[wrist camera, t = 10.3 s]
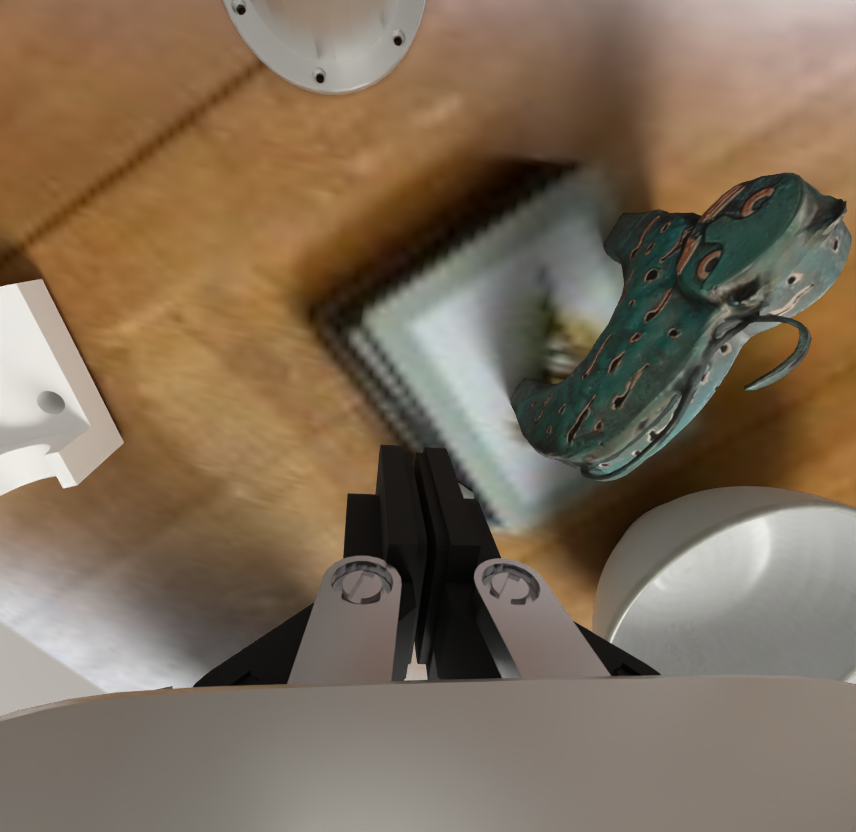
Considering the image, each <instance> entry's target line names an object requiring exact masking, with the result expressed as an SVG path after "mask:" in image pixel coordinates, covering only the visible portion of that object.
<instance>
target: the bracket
mask: <svg viewBox="0 0 856 832" xmlns="http://www.w3.org/2000/svg"><path fill="white" fill-rule="evenodd" d="M123 443H124V442H123V440H122V438H121V436H120V434H119V432H118V430H117V428H116V426H115V424H114V422H113V420H112V418H111V416H110V414H109V412H108V410H107V408H106V406H105V404H104V402H103V400H102V398H101V396H100V394H99V392H98V390H97V388H96V386H95V384H94V382H93V380H92V378H91V376H90V374H89V372H88V370H87V368H86V366H85V364H84V362H83V360H82V358H81V356H80V354H79V352H78V350H77V348H76V346H75V344H74V342H73V340H72V338H71V336H70V334H69V332H68V330H67V328H66V326H65V324H64V322H63V320H62V318H61V316H60V314H59V312H58V310H57V308H56V306H55V304H54V302H53V300H52V298H51V296H50V294H49V292H48V290H47V288H46V286H45V284H44V282H43V280H42V279H38V280H32V281H27V282H21V283H16V284H11V285H6V286H1V287H0V496H1V495H3V494H5V493H7V492H9V491H11V490H13V489H16V488H18V487H20V486H23V485H25V484H28V483H31V482H34V481H37V480H40V479H44V478H48V477H53V476H56V477H57V479H58V480H59V482H60V484H61V485H62V487H63V488H67V487H72V486H77V485H78V484H79V483H80V482H82V481H83V480H84V479H85V478H86V477H87V476H88V475H89V474H90V473H91V472H93V471H94V470H95V469H96V468H97V467H98V466H99V465H100V464H101V463H102V462H103V461H105V460H106V459H107V458H108V457H109V456H110V455H111V454H112V453H113V452H114V451H116V450H117V449H118V448H119V447H120V446H121V445H122V444H123Z"/></svg>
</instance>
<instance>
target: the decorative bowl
mask: <svg viewBox="0 0 856 832" xmlns="http://www.w3.org/2000/svg"><path fill="white" fill-rule="evenodd" d="M592 632H593V633H594V634H596V635H598V636H600V637H601V638H603V639H605V640H606V641H608V642H610V643H612V644H613V645H615V646H617V647H619V648H620V649H622V650H624V651H625V652H627V653H629V654H631V655H632V656H634V657H636V658H637V659H639V660H641V661H643V662H644V663H646V664H648V665H649V666H650V667H652V668H653V669H655V670H656V671H657V672H659V673H660V674H661V675H725V674H745V675H789V676H806V677H815V678H825V679H832V680H837V681H842V682H848V681H849V680H851V679H852V678H853V677H854V676H855V675H856V508H855V507H853V506H850V505H848V504H845V503H842V502H839V501H835V500H832V499H828V498H825V497H821V496H817V495H813V494H809V493H804V492H799V491H794V490H788V489H781V488H772V487H760V486H735V487H722V488H715V489H709V490H704V491H699V492H695V493H692V494H688V495H685V496H683V497H680V498H677V499H675V500H672V501H670V502H668V503H665V504H662V505H659V506H657V507H655V508H653V509H651V510H649V511H648V512H646V513H645V514H643V515H642V516H640V517H639V518H638V519H637V520H636V521H635V522H634V523H633V524H632V525H631V526H630V527H629V528H628V529H627V531H626V532H625V533H624V535H623V536H622V538H621V540H620V541H619V542H618V544H617V545H616V547H615V548H614V550H613V551H612V553H611V555H610V556H609V558H608V560H607V562H606V564H605V566H604V569H603V571H602V574H601V576H600V579H599V583H598V586H597V590H596V595H595V600H594V607H593V619H592Z"/></svg>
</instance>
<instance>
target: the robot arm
mask: <svg viewBox="0 0 856 832" xmlns="http://www.w3.org/2000/svg"><path fill="white" fill-rule="evenodd" d="M223 3H224V5H225V7H226V10H227V12H228V14H229V17H230V19H231V21H232V22H233V24H234V26H235V27H236V29H237V31H238V32H239V34H240V35H241V37H242V38H243V40H244V41H245V43H246V44H247V45H248V47H249V48H250V49H251V51H252V52H253V53H254V54H255V55H256V56H257V57H258V58H259V59H260V60H261V61H262V62H263V63H264V64H265V65H266V66H267V67H268V68H269V69H270V70H271V71H272V72H274V73H275V74H277V75H278V76H279V77H281V78H282V79H284V80H285V81H287V82H288V83H290V84H293V85H295V86H297V87H299V88H301V89H304V90H306V91H310V92H314V93H319V94H323V95H345V94H350V93H354V92H359V91H362V90H364V89H366V88H368V87H370V86H372V85H374V84H377V83H378V82H379V81H381V80H382V79H383V78H384V77H386V76H387V75H388V74H390V73H391V72H392V71H393V70H394V69H395V67H396V66H397V65H398V64H399V63H400V61H401V60H402V59H403V58H404V57H405V55H406V53H407V51H408V50H409V48H410V46H411V44H412V42H413V41H414V39H415V36H416V34H417V31H418V28H419V25H420V22H421V19H422V16H423V11H424V7H425V3H426V0H223ZM241 7H243V8H245V9H246V12H245V13H244V14H243V15H239V13H238V11H239V9H240V8H241ZM395 38H399V39H400V40H401V42H402V44H401V45H400V46H397V45H395V43H394V39H395ZM318 75H322V76H323V77H324V82H322V83H318V82H317V81H316V78H317V76H318ZM414 641H415V650H416V658H417V663H418V664H426V669H427V676H428V680H410V681H403V680H404V679H405V678H406V673H407V667H408V664H410V663H411V659H412V652H413V646H414ZM0 832H856V684H852V683H847V682H842V681H837V680H832V679H825V678H815V677H806V676H789V675H745V674H725V675H661V674H660V673H659V672H657V671H656V670H655V669H653V668H652V667H650V666H649V665H648V664H646V663H644V662H643V661H641V660H639V659H637V658H636V657H634V656H632V655H631V654H629V653H627V652H625V651H624V650H622V649H620V648H619V647H617V646H615V645H613V644H612V643H610V642H608V641H606V640H605V639H603V638H601V637H600V636H598V635H596V634H594V633H593V632H591V631H589V630H588V629H586V628H584V627H582V626H581V625H579V624H577V623H576V622H574V621H572V619H571V618H570V616H569V615H568V613H567V612H566V611H565V609H564V608H563V606H562V605H561V603H560V602H559V600H558V599H557V598H556V596H555V595H554V593H553V592H552V590H551V589H550V588H549V586H548V585H547V583H546V582H545V580H544V579H543V578H542V577H541V576H540V575H539V574H538V573H537V572H536V571H535V570H533V569H532V568H530V567H529V566H527V565H525V564H523V563H521V562H518V561H515V560H510V559H501V556H500V554H499V551H498V549H497V547H496V544H495V542H494V539H493V537H492V534H491V532H490V529H489V527H488V524H487V522H486V519H485V517H484V514H483V512H482V509H481V507H480V504H479V502H478V501H477V499H470V498H464V497H463V494H462V492H461V489H460V486H459V483H458V480H457V477H456V475H455V472H454V469H453V466H452V463H451V461H450V458H449V455H448V452H447V450H446V449H445V448H428V447H425V448H424V450H423V453H419V452H416V455H415V460H414V468H413V463H412V458H411V453H410V452H403V447H402V446H394V445H381V446H380V453H379V463H378V474H377V484H376V495H373V494H348V497H347V511H346V526H345V540H344V555H343V559H342V560H340V561H337V562H335V563H334V564H333V565H332V566H331V567H329V568H328V569H327V571H326V573H325V575H324V576H323V579H322V582H321V585H320V588H319V591H318V594H317V597H316V600H315V602H314V603H313V604H311V605H310V606H308V607H307V608H305V609H304V610H302V611H301V612H299V613H298V614H296V615H295V616H293V617H291V618H290V619H288V620H287V621H285V622H284V623H282V624H281V625H279V626H278V627H276V628H275V629H273V630H272V631H270V632H269V633H267V634H266V635H264V636H263V637H261V638H260V639H258V640H257V641H255V642H254V643H252V644H251V645H249V646H248V647H246V648H245V649H243V650H242V651H240V652H239V653H237V654H236V655H234V656H233V657H231V658H230V659H228V660H227V661H225V662H224V663H222V664H221V665H219V666H217V667H216V668H214V669H213V670H211V671H210V672H209V673H207V674H206V675H205V676H204V677H203V678H201V679H200V680H199V681H198V682H197V683H196V684H195V685H194V686H193V688H178V689H172V686H171V687H166V688H162V689H157V690H147V691H132V692H117V693H109V694H102V695H96V696H88V697H81V698H74V699H68V700H63V701H59V702H54V703H50V704H45V705H40V706H36V707H31V708H27V709H22V710H18V711H15V712H12V713H9V714H6V715H3V716H0Z"/></svg>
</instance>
